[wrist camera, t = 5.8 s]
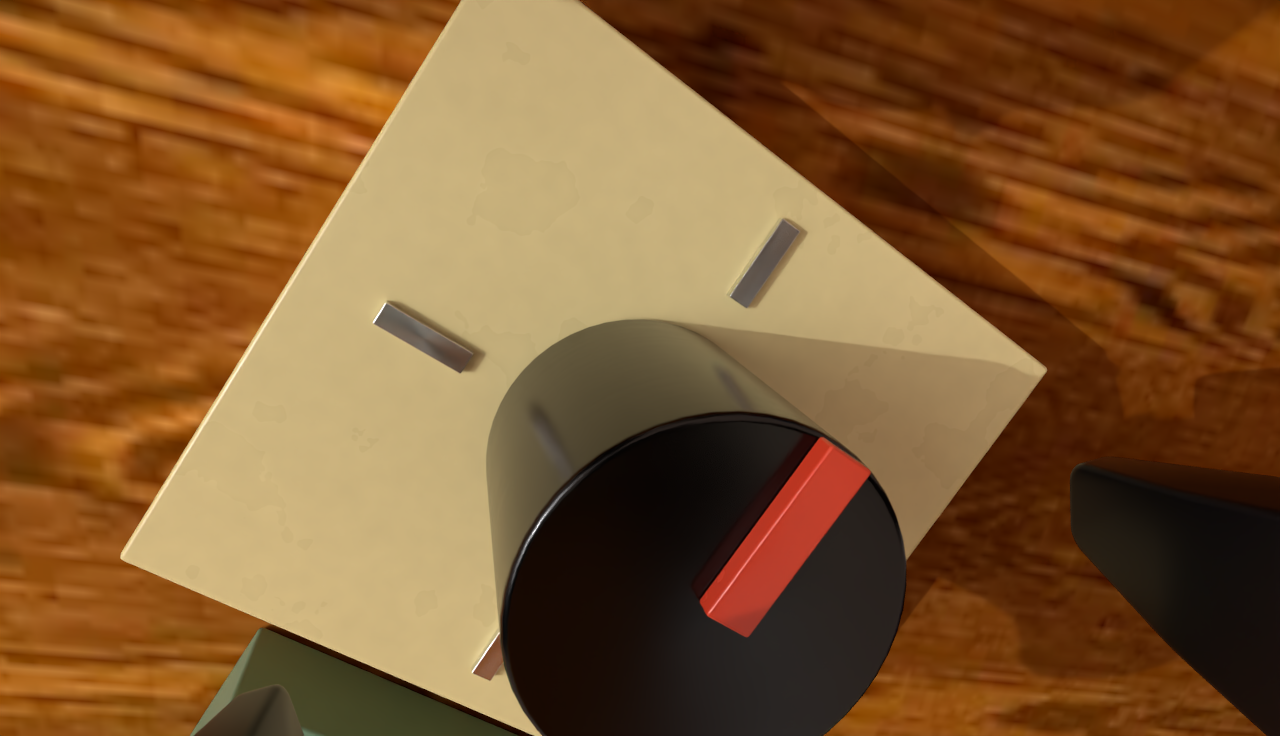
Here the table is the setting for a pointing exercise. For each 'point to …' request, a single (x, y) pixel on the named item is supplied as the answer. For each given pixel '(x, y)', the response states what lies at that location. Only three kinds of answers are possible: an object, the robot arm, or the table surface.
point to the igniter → (340, 695)
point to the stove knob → (682, 545)
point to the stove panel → (541, 339)
